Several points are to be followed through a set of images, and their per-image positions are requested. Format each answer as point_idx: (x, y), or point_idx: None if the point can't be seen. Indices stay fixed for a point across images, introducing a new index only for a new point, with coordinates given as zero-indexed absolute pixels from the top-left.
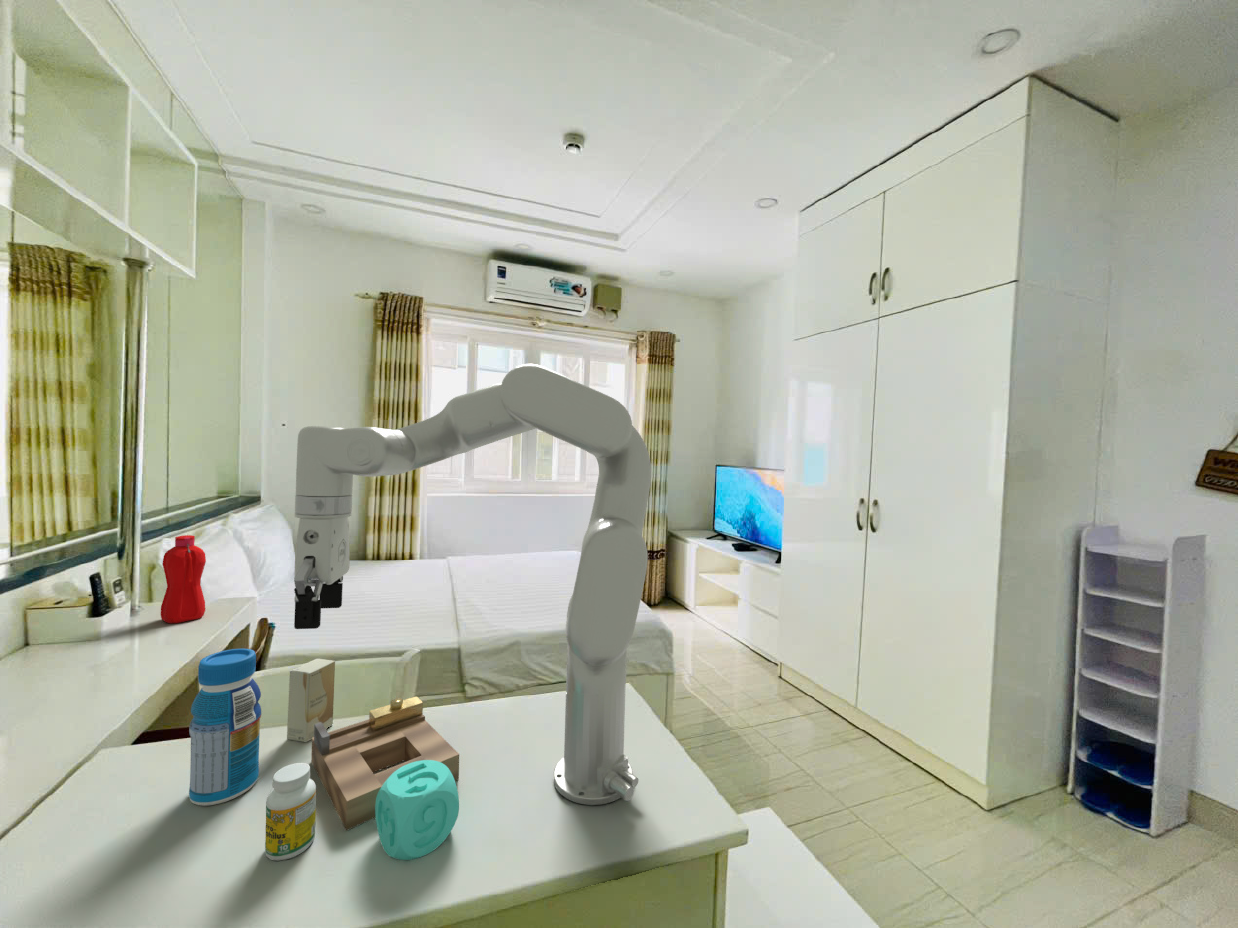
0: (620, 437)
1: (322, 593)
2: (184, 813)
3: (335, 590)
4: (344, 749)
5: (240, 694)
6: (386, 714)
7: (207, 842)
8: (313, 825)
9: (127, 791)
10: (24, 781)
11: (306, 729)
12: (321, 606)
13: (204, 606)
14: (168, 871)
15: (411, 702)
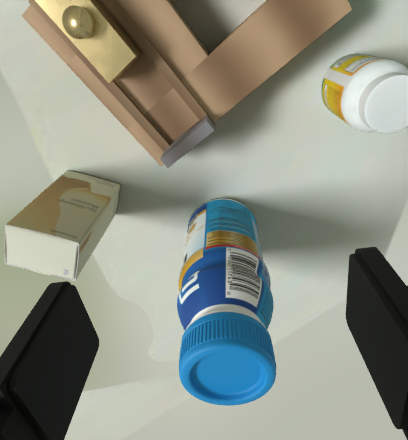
0: None
1: (73, 397)
2: (262, 240)
3: (43, 370)
4: (196, 91)
5: (248, 295)
6: (118, 34)
7: (316, 189)
8: (361, 55)
9: None
10: None
11: (114, 193)
12: (95, 343)
13: None
14: (354, 199)
15: None
